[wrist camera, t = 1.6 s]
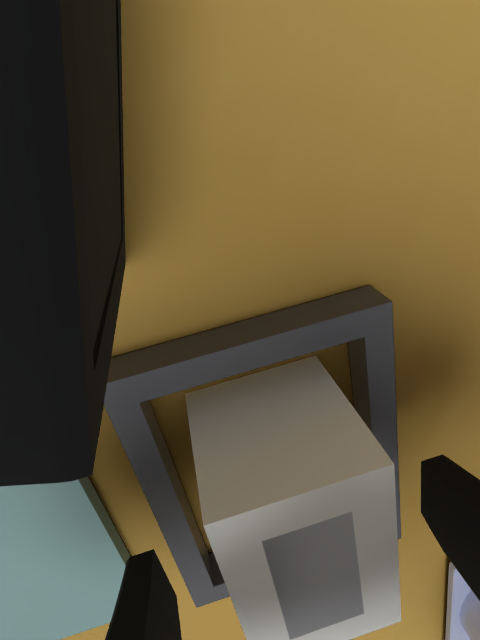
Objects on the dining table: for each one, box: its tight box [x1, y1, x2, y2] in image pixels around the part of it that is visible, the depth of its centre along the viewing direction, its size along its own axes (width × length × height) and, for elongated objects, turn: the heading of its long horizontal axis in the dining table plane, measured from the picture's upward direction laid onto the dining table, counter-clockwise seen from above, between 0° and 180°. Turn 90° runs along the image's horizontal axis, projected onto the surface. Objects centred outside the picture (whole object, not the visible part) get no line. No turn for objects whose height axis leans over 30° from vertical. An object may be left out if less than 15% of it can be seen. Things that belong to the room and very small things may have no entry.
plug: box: [185, 355, 401, 640], centre depth 12 cm, size 4×6×4 cm, turn 11°
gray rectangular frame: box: [104, 285, 401, 608], centre depth 13 cm, size 8×10×1 cm
